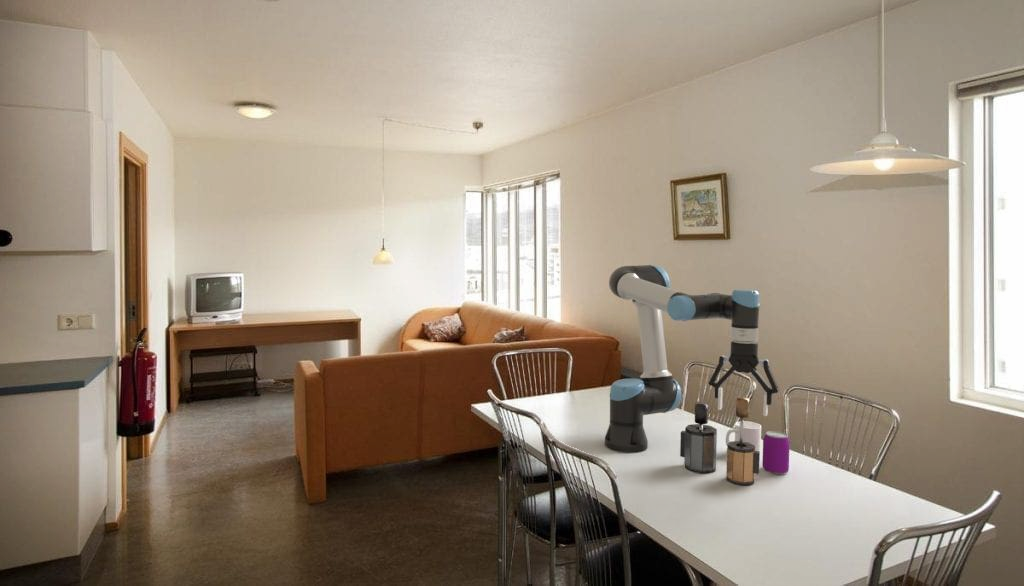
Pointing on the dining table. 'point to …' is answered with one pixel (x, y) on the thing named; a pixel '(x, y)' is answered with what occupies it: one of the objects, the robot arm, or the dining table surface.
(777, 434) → the beverage can
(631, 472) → the dining table surface
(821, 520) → the dining table surface
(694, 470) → the carafe
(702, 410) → the plunger
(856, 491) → the dining table surface
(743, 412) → the plunger
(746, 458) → the carafe
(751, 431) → the cup
